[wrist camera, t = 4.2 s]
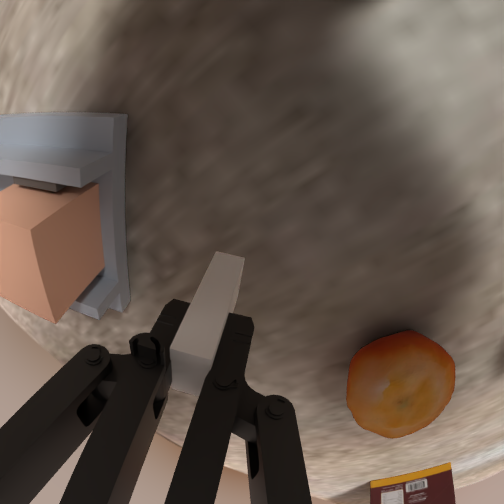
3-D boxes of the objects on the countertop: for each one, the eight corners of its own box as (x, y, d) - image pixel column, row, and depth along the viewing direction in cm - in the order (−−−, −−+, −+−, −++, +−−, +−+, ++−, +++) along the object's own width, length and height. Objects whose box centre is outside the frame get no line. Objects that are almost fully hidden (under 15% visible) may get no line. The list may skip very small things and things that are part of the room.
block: (33, 173, 16) (-30, 210, 11) (98, 183, 16) (30, 229, 11) (44, 247, 19) (-6, 292, 14) (104, 266, 19) (55, 324, 14)
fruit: (363, 411, 24) (355, 464, 16) (341, 334, 25) (329, 370, 17) (446, 385, 21) (467, 432, 13) (431, 304, 22) (455, 329, 14)
